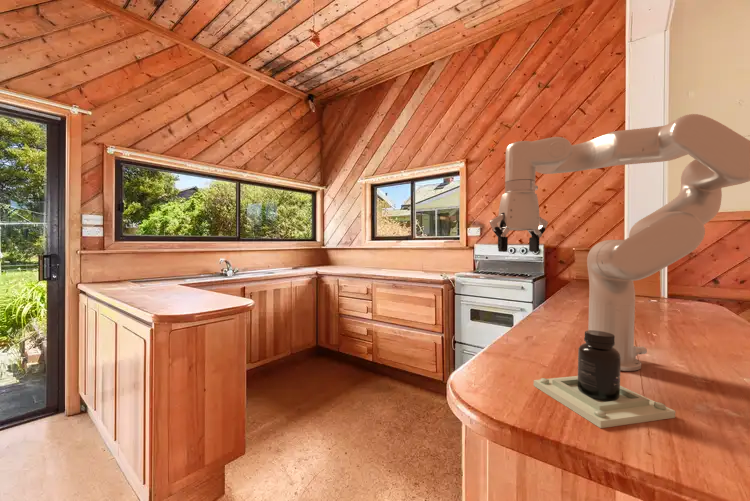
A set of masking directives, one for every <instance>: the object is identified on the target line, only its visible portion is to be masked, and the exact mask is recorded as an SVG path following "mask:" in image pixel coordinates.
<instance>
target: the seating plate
mask: <svg viewBox="0 0 750 501" xmlns="http://www.w3.org/2000/svg"><path fill="white" fill-rule="evenodd" d="M533 387H535V388H536V389H538V390H540V391H541V392H542V393H544V394H546V395H547V396H549V397H551V398H552V399H553V400H556V401H557V402H559V403H560V404H562V405H563V406H565V407H566V408H568V409H570V410H571V411H573V412H574V413H576V414H577V415H579V416H580V417H582V418H583V419H586V420H587V421H588V422H590V423H592V424H593V425H595V426H597V427H598V428H600V429H604V428H611V427H619V426H626V425H633V424H634V425H635V424H639V423H640V424H641V423H646V422H653V421H661V420H666V419H669V420H670V419H675V418H676V410H674V409H673V408H670V407H668V406H666V404H664V403H662V402H659V401H655V400H652V399H650V398H649V397H647V396H644V395H641V394H640V393H637V392H635V391H633V390H631V389H629V388H627V387H625V386H622V385H620V396H619V398H618V399H617V400H615V401H602V400H597V399H593V398H591V397H588V396H586V395H585V394H583V393H581V392H580V391H579V389H578V375H573V376H572V375H571V376H563V377H562V376H560V377H551V378H544V377H540V378H539V379H534V380H533Z"/></svg>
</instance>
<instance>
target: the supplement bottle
mask: <svg viewBox="0 0 750 501" xmlns="http://www.w3.org/2000/svg"><path fill="white" fill-rule="evenodd" d="M583 341H584V343H582V344H581V345H580V346H579V347H578V350H577V352H578V354H577V357H578V358H577V376H578V389H579V391H580V392H581V393H583V394H585V395H586V396H588V397H591V398H593V399H597V400H602V401H615V400H617V399H618V398H619V396H620V386H621V370H620V366H621V355H620V353H619V352H618V351H617V350H616V349H615V348H613V346H614V345H615V342H614V341H615V336H614V335H613V334H611V333H607V332H603V331H595V330H585V331H584V337H583Z"/></svg>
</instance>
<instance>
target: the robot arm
mask: <svg viewBox="0 0 750 501" xmlns="http://www.w3.org/2000/svg"><path fill="white" fill-rule="evenodd" d="M687 155H689V157H691V158H692V159H693V160H692V161H691V162H689V163H688V164H686V166H685V168H684V169H683V170H682V173H681V176H680V191H679V193H678V195H677V196H676V197H675V198H673V199H672V200H671V201H669V202H667V203H666V204H665V205H663V206H661V207H660V208H658V209H656V210H655V211H653V212H652V213H650V214H649V215H646V216H645V217H643V218H641V219H639V220H638V221H637V222H635V223H634V224H633V225H632V226H631V228H630V229H629V233H628V237H627V238H625V239H607V240H603V241H599V242H598V243H595V244H594V245H593V246H592V247H591V248H590V249H589V252H587V253H588V254H587V258H586V265H587V274H588V284H589V285H588V287H589V288H588V289H589V290H588V291H589V292H588V293H589V294H588V324H587V325H588V327H587V329H588V330H595V331H603V332H607V333H611V334H613V335H614V336H615V341H614V342H615V345H614V346H613V348H615V349H616V350H617V351H618V352H619V353H620V355H621V366H620V372H621V371H622V372H623V371H624V372H635V371H639V370H641V369H642V363H641V361H640V360H639V359H637V356H638V355H645V354H647V353H648V350H647V348H646V347H645V346H643V345H642V346H636V345H634V344H635V343H634V342H635V318H636V317H635V312H636V310H635V308H636V289H635V283H634V281H640V280H644V279H645V278H648V277H650V276H653V275H655V274H656V273H658V272H659V271H661V270H663V269H665V268H667V267H669V266H671V265H672V264H674V263H675V262H678V261H679V260H681V259H682V258H684V257H686V256H688V255H689V254H691V253H693V251H695V250H696V249H697V248H698V247H699V246H700V245H701V244H702V242H703V240H704V239H705V234H706V229H705V225H706V224H708V223H709V222H710V221H712V220H713V219H714V218H715V217H716V216H717V215H718V213H719V211H720V209H721V206H722V198H723V197H722V196H723V195H722V192H723V191H722V189H723V188H727V187H733V186H737V185H742V184H746V183H748V182H750V140H749V139H748V138H746V137H745V136H743V135H741V134H739V133H738V132H736V131H735V130H733V129H731V128H730V127H728V126H726V125H725V124H723V123H721V122H720V121H717V120H715V119H714V118H711V117H709V116H706V115H703V114H698V113H691V114H685V115H682V116H680V117H678V118H676V119H675V120H673V121H671V122H669V123H668V124H665V125H660V126H652V127H642V128H632V129H625V130H623V129H622V130H614V131H610V132H608V133H605V134H602V135H600V136H597V137H596V138H595V137H594V138H592V139H590V140H588V141H584V142H580V143H577V144H572V143H571V142H570V140H569V139H567V138H566V137H563V136H552V137H546V138H543V139H542V138H541V139H537V140H533V141H532V140H520V141H514V142H512V143H510V144H508V145H507V146H506V149H505V169H504V170H505V171H504V173H505V174H504V193H502V194H501V197H500V202H499V207H498V215H497V216H496V217H494V218H492V219H490V220H489V225H490V227H491V230H492V232H493V233H494V235H495V236H496V237H497V250H498V252H499V253H502V252H503V253H507V252H508V251H509V250H508V241H509V237H508V236H507V235H508V234H509V232H511V231H517V232H518V231H521V232H522V231H527V232H528V233H529V235H530V236H531V237H529V239H528V240H529V242H528V251H529V253H531V252H532V253H539V252H540V238H542V237H543V236H542V235H543V234H544V233H545V232H546V228H547V226H548V224H549V222H548V220H546V219H544V218H543V217H542V216H540V206H539V199H538V198H539V197H538V194H537V193H536V191H537V190H538V189H539V186H538V185H536V175H537V173H539V174H542V175H553V174H564V173H565V174H566V173H574V172H580V171H582V172H583V171H587V170H594V169H603V168H607V167H615V166H625V165H638V164H649V163H650V164H651V163H661V162H669V161H673V160H676V159H679V158H682V157H684V156H687ZM588 330H587V331H588Z"/></svg>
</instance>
